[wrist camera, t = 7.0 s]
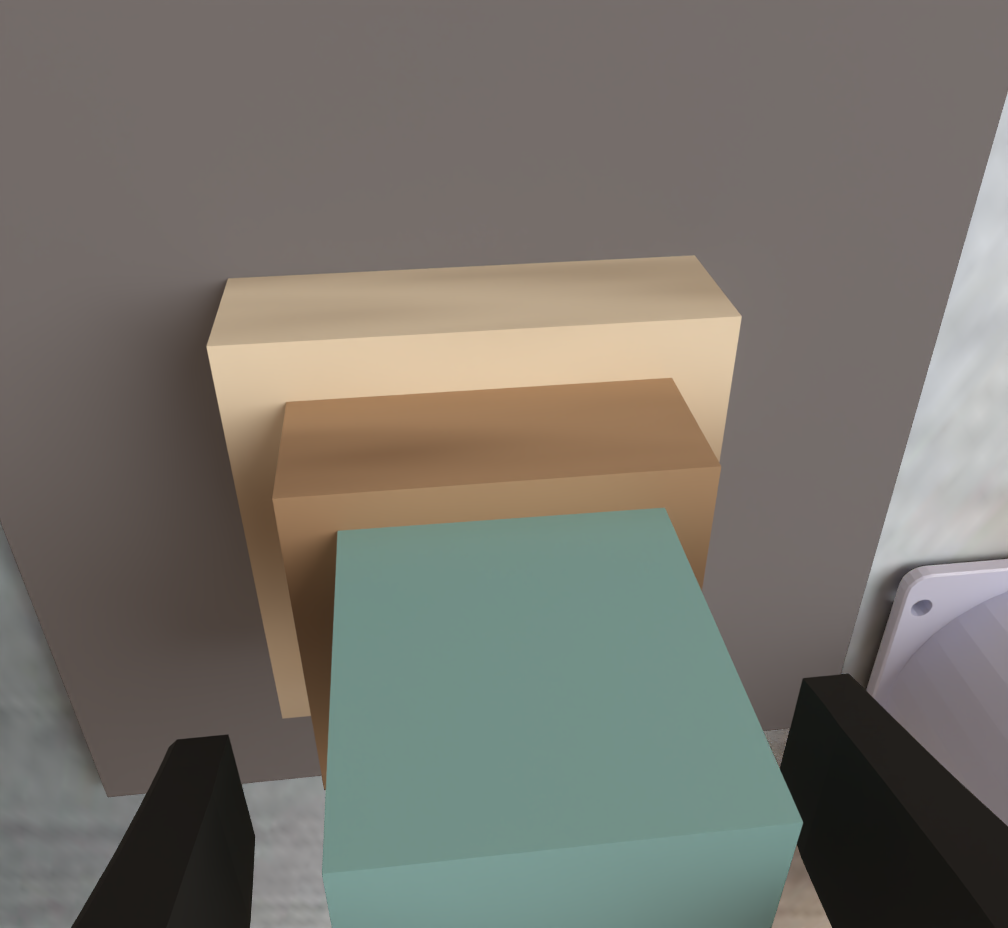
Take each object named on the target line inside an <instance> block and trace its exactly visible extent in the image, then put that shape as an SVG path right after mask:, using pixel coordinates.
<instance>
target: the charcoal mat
mask: <svg viewBox="0 0 1008 928" xmlns="http://www.w3.org/2000/svg"><path fill="white" fill-rule="evenodd" d="M1007 92H1008V0H0V522H1V524H2V527H3V529H4V532H5V535H6V537H7V540H8V542H9V545H10V547H11V550H12V553H13V555H14V558H15V560H16V563H17V565H18V568H19V571H20V573H21V576H22V578H23V581H24V583H25V586H26V589H27V591H28V594H29V596H30V599H31V601H32V604H33V607H34V609H35V612H36V614H37V617H38V619H39V622H40V625H41V627H42V630H43V632H44V635H45V637H46V640H47V642H48V645H49V648H50V650H51V653H52V655H53V658H54V660H55V663H56V666H57V668H58V671H59V673H60V676H61V678H62V681H63V684H64V686H65V689H66V691H67V694H68V696H69V699H70V702H71V704H72V707H73V709H74V712H75V714H76V717H77V720H78V722H79V725H80V727H81V730H82V732H83V735H84V737H85V740H86V743H87V745H88V748H89V750H90V753H91V755H92V758H93V761H94V763H95V766H96V768H97V771H98V773H99V776H100V779H101V781H102V784H103V786H104V789H105V791H106V794H107V797H115V796H125V795H135V794H144V793H147V791H148V789H149V787H150V785H151V783H152V781H153V779H154V777H155V775H156V773H157V771H158V769H159V767H160V765H161V763H162V761H163V759H164V757H165V754H166V752H167V750H168V748H169V746H170V745H171V744H173V743H174V742H175V741H176V740H177V739H186V738H196V737H206V736H217V735H227V734H229V738H230V742H231V746H232V750H233V754H234V757H235V761H236V765H237V769H238V773H239V777H240V781H241V784H243V783H253V782H263V781H273V780H283V779H293V778H303V777H312V776H322V775H321V769H320V763H319V758H318V752H317V747H316V741H315V735H314V730H313V724H312V719H311V716H305V717H294V718H283V719H282V714H281V709H280V704H279V699H278V694H277V689H276V684H275V679H274V675H273V670H272V665H271V660H270V655H269V650H268V645H267V640H266V635H265V631H264V626H263V621H262V616H261V611H260V606H259V601H258V596H257V591H256V587H255V582H254V577H253V572H252V567H251V562H250V557H249V552H248V547H247V542H246V538H245V533H244V528H243V523H242V518H241V513H240V508H239V503H238V498H237V494H236V489H235V484H234V479H233V474H232V469H231V464H230V459H229V454H228V450H227V445H226V440H225V435H224V430H223V425H222V420H221V415H220V410H219V406H218V401H217V396H216V391H215V386H214V381H213V376H212V371H211V366H210V362H209V357H208V352H207V347H206V346H207V343H208V340H209V337H210V334H211V330H212V327H213V324H214V321H215V318H216V315H217V312H218V308H219V305H220V302H221V299H222V296H223V293H224V289H225V286H226V283H227V280H228V278H247V277H268V276H288V275H308V274H328V273H348V272H369V271H389V270H409V269H429V268H450V267H470V266H490V265H510V264H530V263H551V262H571V261H591V260H611V259H632V258H652V257H672V256H692V255H695V256H696V258H697V259H698V260H699V262H700V263H701V264H702V265H703V267H704V268H705V269H706V271H707V272H708V273H709V275H710V276H711V277H712V278H713V280H714V281H715V282H716V284H717V285H718V286H719V287H720V289H721V290H722V291H723V293H724V294H725V295H726V297H727V298H728V299H729V300H730V302H731V303H732V304H733V306H734V307H735V308H736V309H737V311H738V312H739V313H740V315H741V316H742V318H741V325H740V331H739V338H738V344H737V351H736V357H735V364H734V370H733V377H732V383H731V390H730V396H729V403H728V409H727V416H726V423H725V429H724V436H723V442H722V449H721V455H720V462H719V463H720V465H721V471H720V478H719V484H718V491H717V497H716V504H715V510H714V517H713V523H712V530H711V536H710V542H709V549H708V555H707V562H706V568H705V575H704V581H703V588H702V593H703V595H704V598H705V600H706V602H707V605H708V607H709V609H710V611H711V614H712V616H713V618H714V620H715V623H716V625H717V627H718V630H719V632H720V634H721V636H722V639H723V641H724V643H725V646H726V648H727V650H728V652H729V655H730V657H731V659H732V661H733V664H734V666H735V668H736V671H737V673H738V675H739V677H740V680H741V682H742V684H743V687H744V689H745V691H746V693H747V696H748V698H749V700H750V702H751V705H752V707H753V709H754V712H755V714H756V716H757V718H758V721H759V723H760V725H761V727H762V730H763V731H767V730H777V729H787V728H790V727H791V723H792V719H793V715H794V711H795V707H796V703H797V699H798V695H799V691H800V687H801V683H802V679H803V678H809V677H819V676H830V675H840V674H841V671H842V668H843V664H844V661H845V657H846V654H847V650H848V647H849V643H850V640H851V636H852V633H853V629H854V626H855V622H856V619H857V615H858V612H859V608H860V605H861V601H862V598H863V594H864V591H865V587H866V584H867V580H868V577H869V573H870V570H871V566H872V563H873V559H874V556H875V553H876V549H877V546H878V542H879V539H880V535H881V532H882V528H883V525H884V521H885V518H886V514H887V511H888V507H889V504H890V500H891V497H892V493H893V490H894V486H895V483H896V479H897V476H898V472H899V469H900V465H901V462H902V458H903V455H904V451H905V448H906V444H907V441H908V437H909V434H910V430H911V427H912V423H913V420H914V416H915V413H916V409H917V406H918V402H919V399H920V395H921V392H922V388H923V385H924V382H925V378H926V375H927V371H928V368H929V364H930V361H931V357H932V354H933V350H934V347H935V343H936V340H937V336H938V333H939V329H940V326H941V322H942V319H943V315H944V312H945V308H946V305H947V301H948V298H949V294H950V291H951V287H952V284H953V280H954V277H955V273H956V270H957V266H958V263H959V259H960V256H961V252H962V249H963V245H964V242H965V238H966V235H967V231H968V228H969V224H970V221H971V217H972V214H973V210H974V207H975V204H976V200H977V197H978V193H979V190H980V186H981V183H982V179H983V176H984V172H985V169H986V165H987V162H988V158H989V155H990V151H991V148H992V144H993V141H994V137H995V134H996V130H997V127H998V123H999V120H1000V116H1001V113H1002V109H1003V106H1004V102H1005V99H1006V95H1007Z"/></svg>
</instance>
